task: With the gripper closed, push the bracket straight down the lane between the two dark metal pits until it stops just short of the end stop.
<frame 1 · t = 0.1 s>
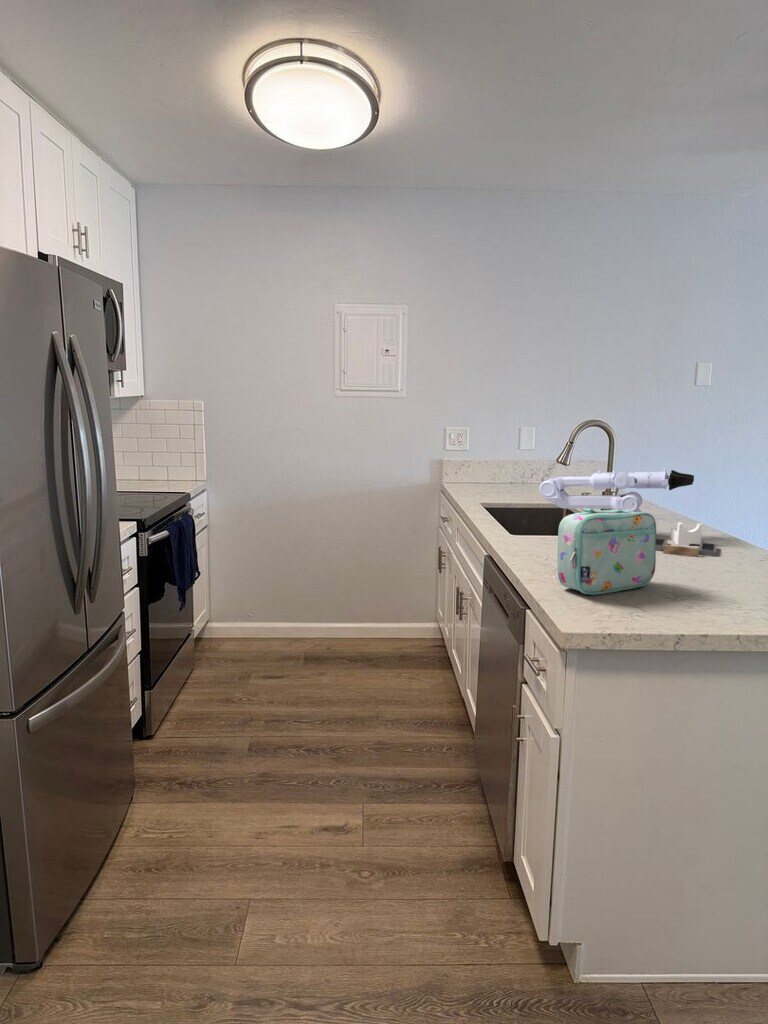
hand: (693, 479, 223), 22 cm above the countertop, tool horizontal, fingers open, 7 cm apart
end stop: (680, 554, 211), on the countertop
trap pits: (682, 548, 218), on the countertop
lunch box: (604, 589, 174), on the countertop
bracket: (684, 542, 229), on the countertop
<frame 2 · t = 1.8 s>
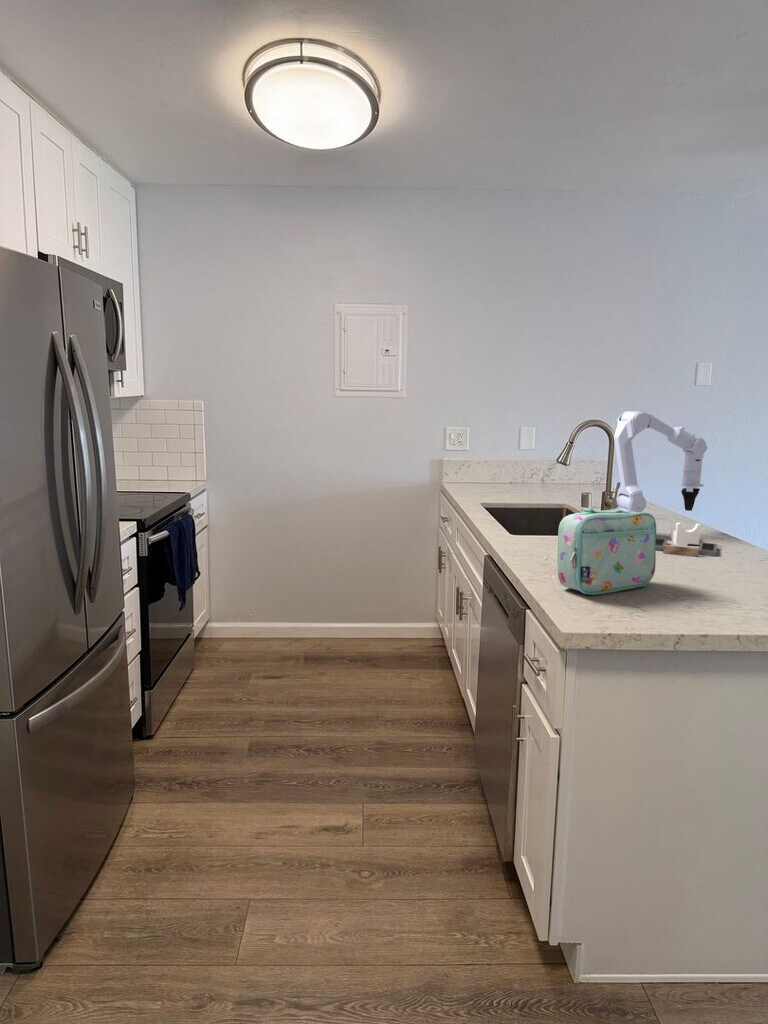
hand: (688, 509, 238), 9 cm above the countertop, tool pointing down, fingers open, 5 cm apart
nothing on the countertop moved.
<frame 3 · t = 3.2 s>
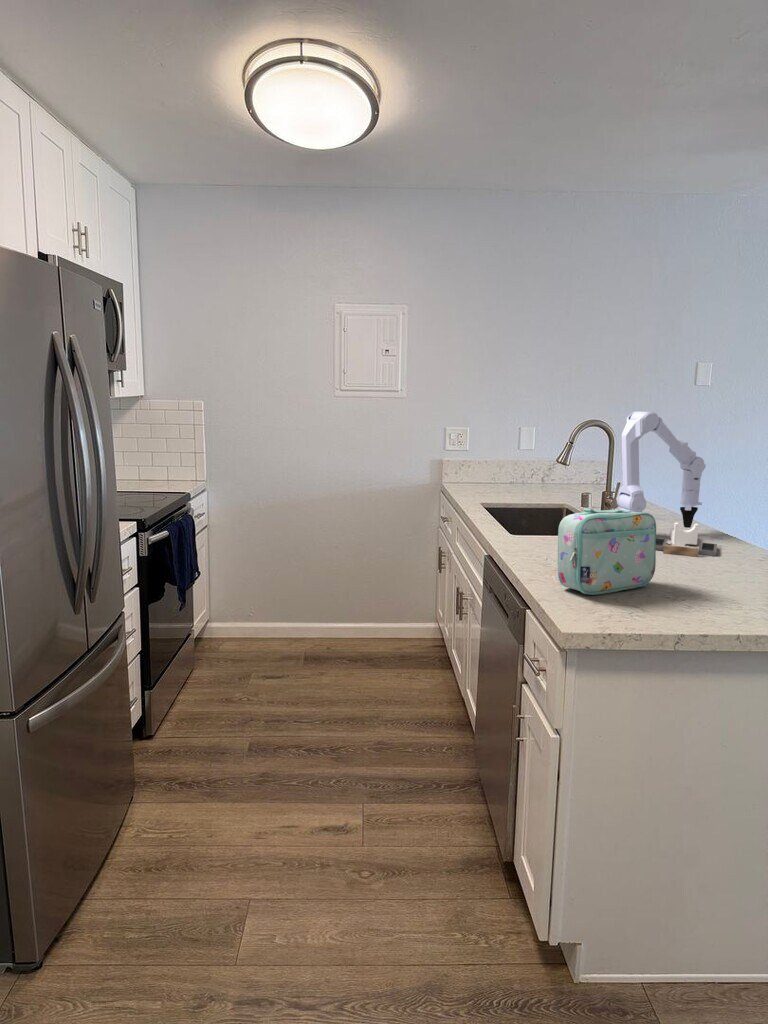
hand: (687, 527, 239), 3 cm above the countertop, tool pointing down, fingers closed
nothing on the countertop moved.
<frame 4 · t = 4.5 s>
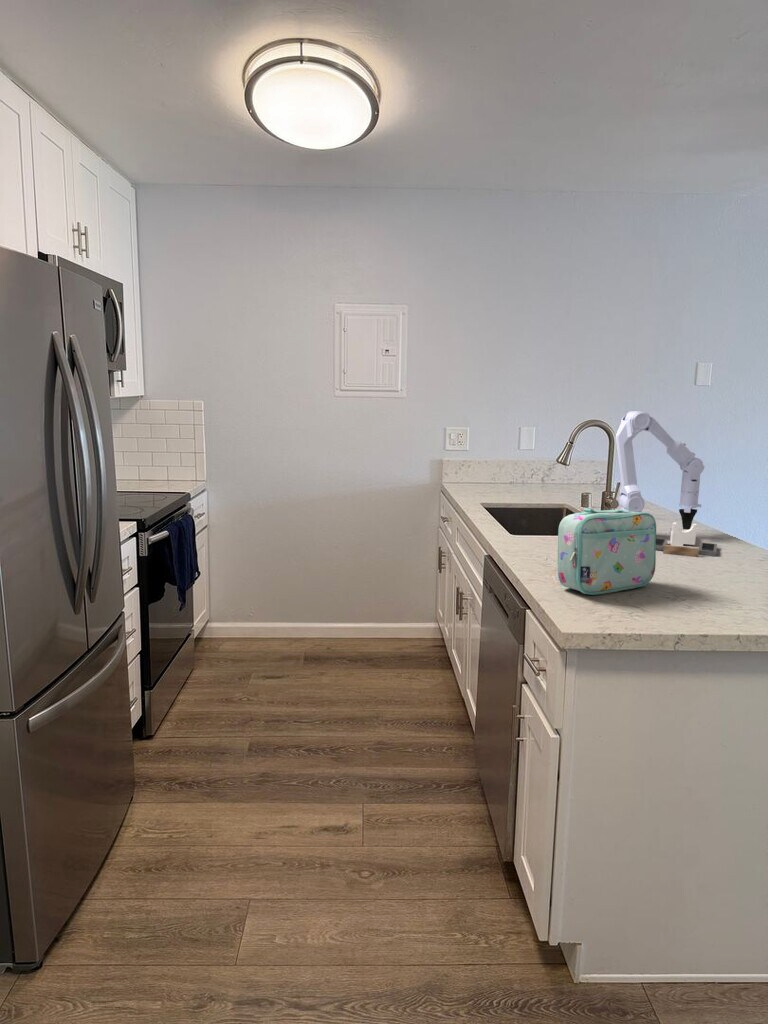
hand: (686, 529, 235), 3 cm above the countertop, tool pointing down, fingers closed
bracket: (681, 543, 229), on the countertop, touching gripper
everything else where it was.
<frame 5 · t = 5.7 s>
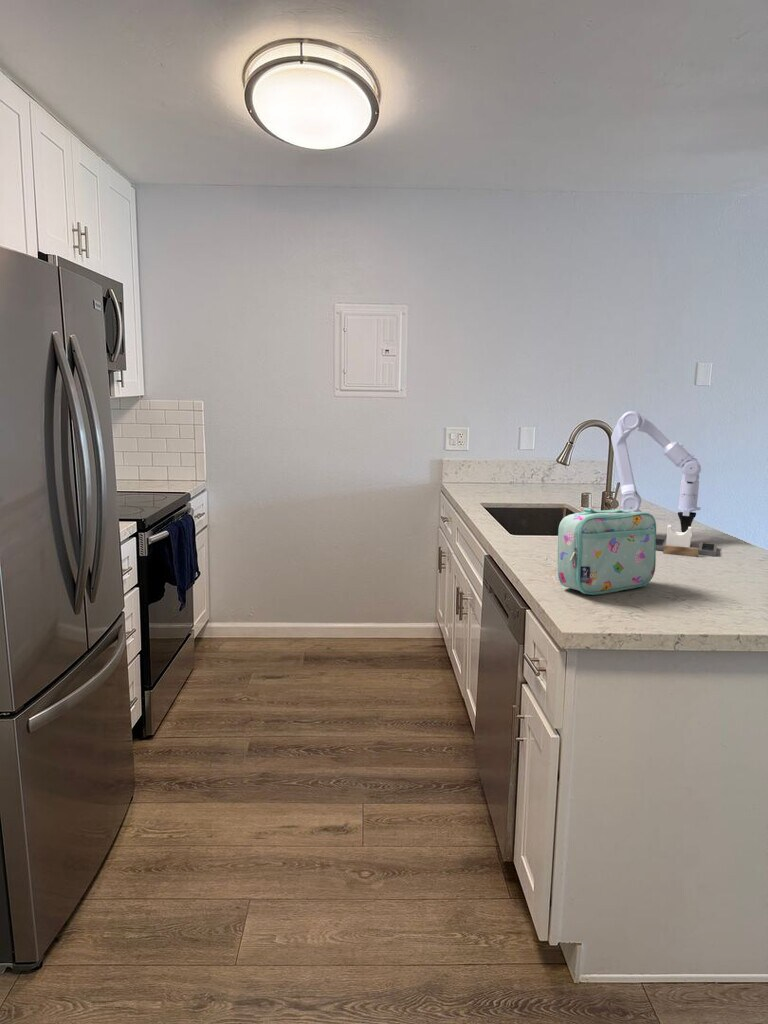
hand: (685, 533, 228), 3 cm above the countertop, tool pointing down, fingers closed
bracket: (678, 546, 223), on the countertop, touching gripper
everything else where it was.
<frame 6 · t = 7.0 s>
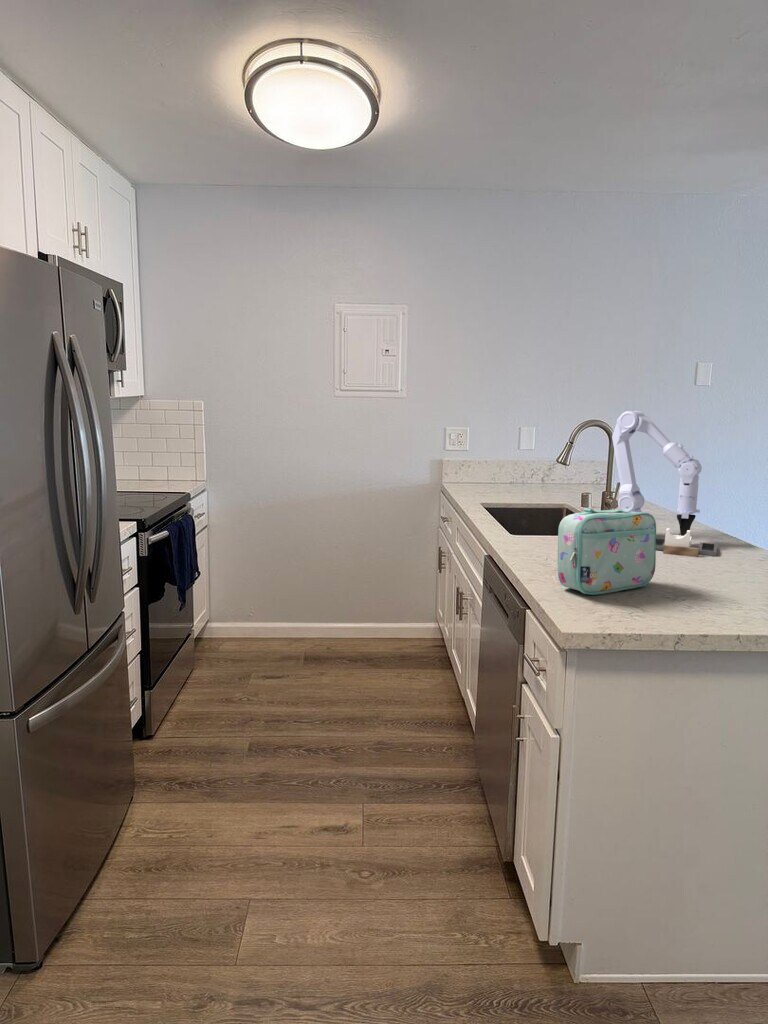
hand: (684, 536, 224), 3 cm above the countertop, tool pointing down, fingers closed
bracket: (677, 550, 219), on the countertop
everything else where it was.
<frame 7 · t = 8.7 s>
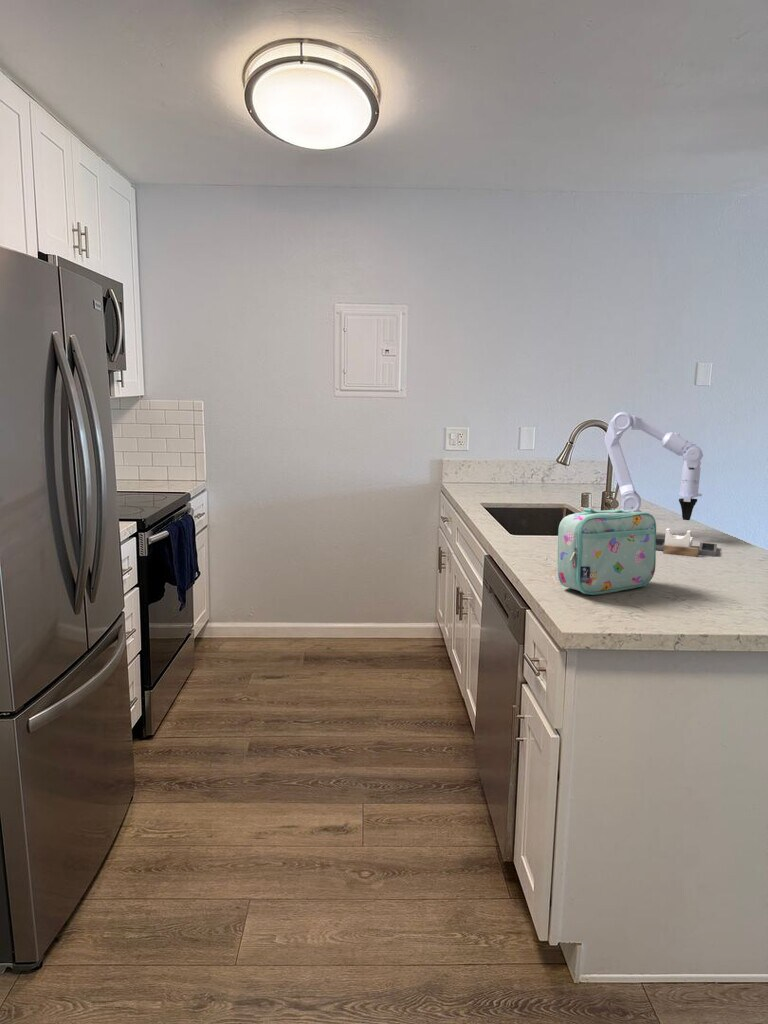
hand: (686, 519, 228), 8 cm above the countertop, tool pointing down, fingers closed
nothing on the countertop moved.
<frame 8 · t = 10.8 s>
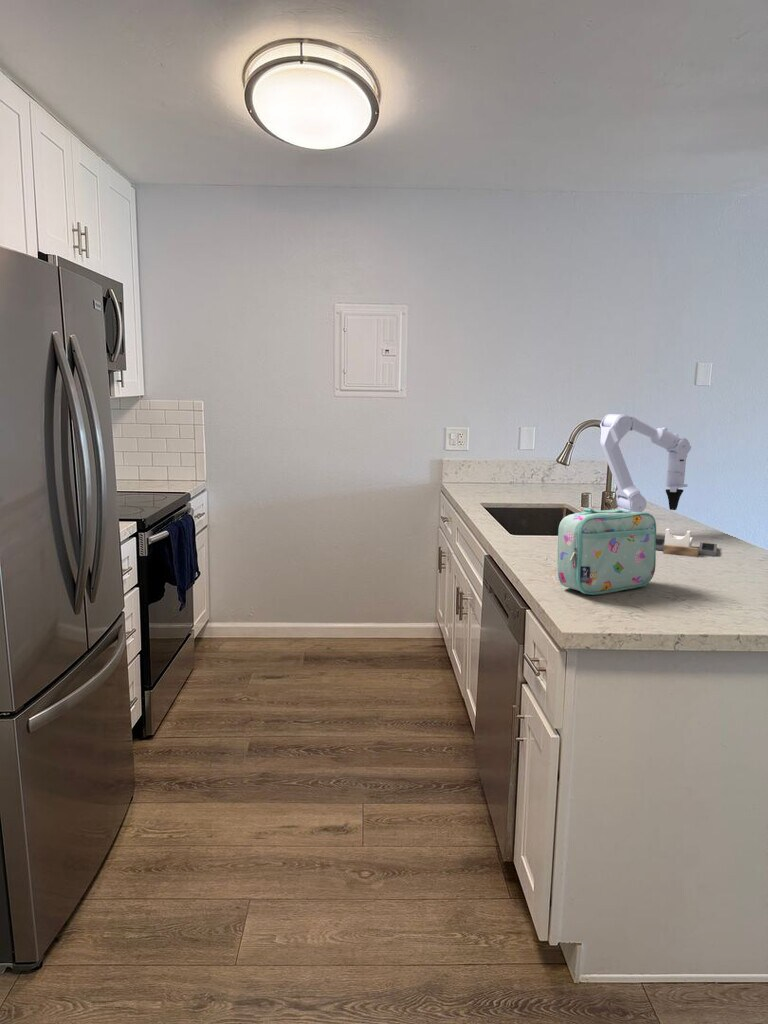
hand: (672, 509, 237), 9 cm above the countertop, tool pointing down, fingers closed
at the end: bracket 1.5 cm from the target spot, on the countertop; bracket touching countertop; bracket tilted 0° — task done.
